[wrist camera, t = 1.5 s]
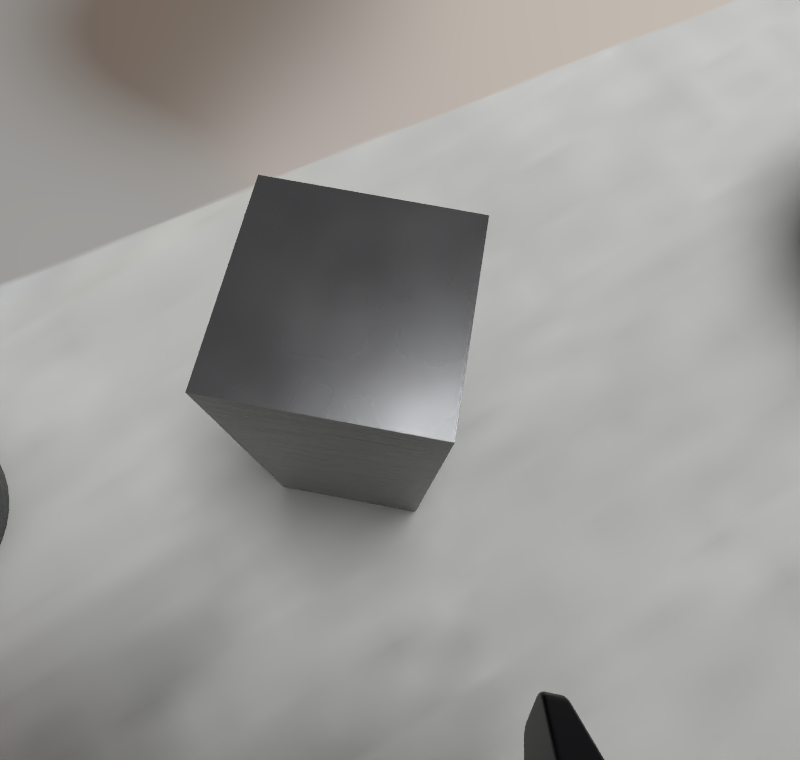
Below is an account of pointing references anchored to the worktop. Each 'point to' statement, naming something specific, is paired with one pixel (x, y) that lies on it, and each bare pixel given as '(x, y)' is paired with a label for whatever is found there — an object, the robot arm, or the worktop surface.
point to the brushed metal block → (343, 339)
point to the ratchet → (3, 504)
